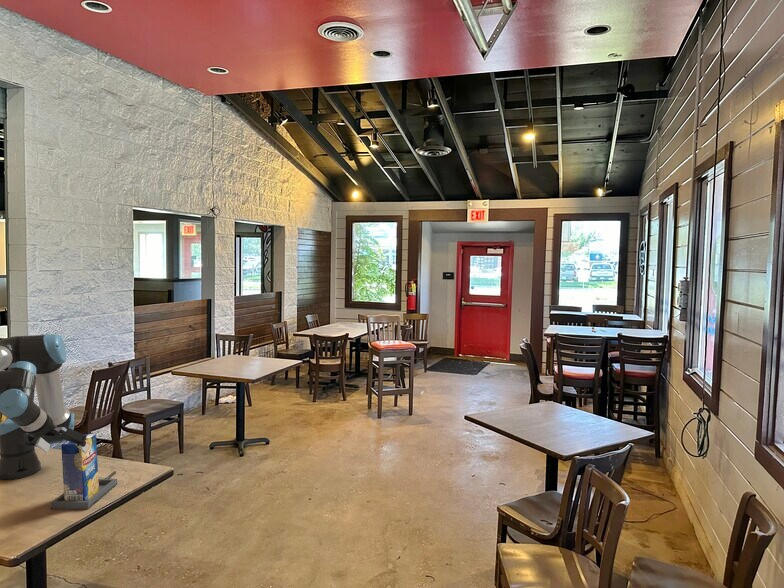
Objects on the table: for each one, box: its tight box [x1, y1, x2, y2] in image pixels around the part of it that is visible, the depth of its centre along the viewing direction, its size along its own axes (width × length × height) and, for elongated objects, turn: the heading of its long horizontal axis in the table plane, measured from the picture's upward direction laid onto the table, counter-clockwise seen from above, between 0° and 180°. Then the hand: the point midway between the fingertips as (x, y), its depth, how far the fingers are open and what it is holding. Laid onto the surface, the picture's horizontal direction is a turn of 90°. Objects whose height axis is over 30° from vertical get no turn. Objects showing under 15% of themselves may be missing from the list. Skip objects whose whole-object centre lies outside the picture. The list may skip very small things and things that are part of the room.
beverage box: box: [60, 433, 99, 501], centre depth 192 cm, size 7×11×22 cm, turn 4°
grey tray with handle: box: [50, 470, 118, 510], centre depth 201 cm, size 30×13×2 cm, turn 0°
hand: (67, 448), depth 184 cm, fingers open, 13 cm apart
